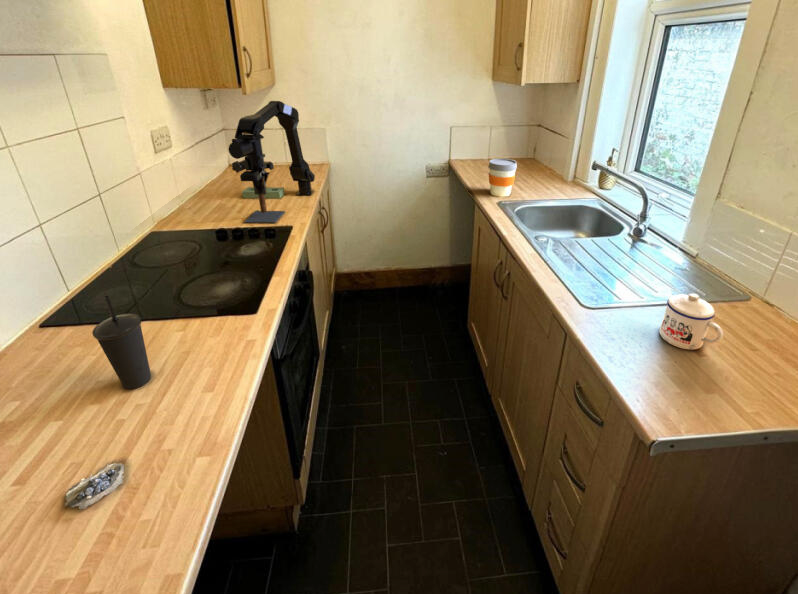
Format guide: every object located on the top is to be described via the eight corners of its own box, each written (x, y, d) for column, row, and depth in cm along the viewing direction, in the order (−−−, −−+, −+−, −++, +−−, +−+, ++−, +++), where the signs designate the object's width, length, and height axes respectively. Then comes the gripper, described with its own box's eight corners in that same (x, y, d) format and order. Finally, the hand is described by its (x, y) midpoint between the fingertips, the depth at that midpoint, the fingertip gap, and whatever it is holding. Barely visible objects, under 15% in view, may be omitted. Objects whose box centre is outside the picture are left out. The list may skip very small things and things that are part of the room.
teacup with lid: (649, 333, 98) (662, 291, 93) (672, 322, 102) (685, 280, 97) (703, 364, 88) (720, 318, 83) (725, 349, 92) (742, 305, 88)
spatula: (259, 210, 166) (254, 180, 160) (270, 210, 166) (265, 180, 160) (257, 212, 164) (252, 182, 158) (268, 212, 164) (263, 182, 158)
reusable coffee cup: (519, 194, 192) (523, 162, 186) (500, 199, 186) (503, 166, 180) (500, 187, 202) (502, 157, 195) (481, 192, 195) (483, 160, 189)
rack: (248, 193, 194) (247, 187, 192) (284, 193, 193) (284, 187, 192) (242, 198, 187) (241, 191, 186) (280, 198, 187) (279, 192, 186)
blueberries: (54, 506, 61) (49, 498, 60) (102, 458, 68) (98, 450, 67) (92, 516, 59) (88, 508, 58) (137, 466, 66) (134, 458, 66)
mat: (255, 212, 171) (255, 210, 171) (284, 212, 171) (284, 211, 171) (244, 223, 160) (243, 221, 160) (275, 223, 160) (274, 221, 160)
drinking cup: (110, 400, 79) (74, 312, 71) (118, 374, 85) (86, 290, 77) (156, 388, 82) (127, 302, 74) (161, 363, 88) (134, 282, 80)
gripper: (243, 147, 163) (249, 185, 170) (222, 158, 146) (230, 200, 153) (271, 147, 163) (276, 185, 170) (253, 158, 146) (260, 200, 153)
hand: (261, 192), depth 161 cm, fingers closed on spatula, 1 cm apart
